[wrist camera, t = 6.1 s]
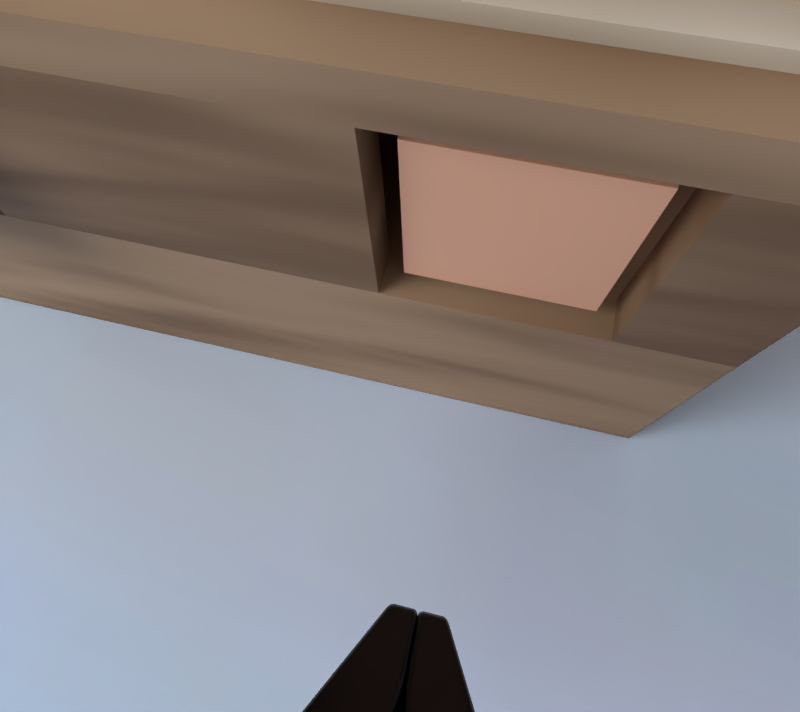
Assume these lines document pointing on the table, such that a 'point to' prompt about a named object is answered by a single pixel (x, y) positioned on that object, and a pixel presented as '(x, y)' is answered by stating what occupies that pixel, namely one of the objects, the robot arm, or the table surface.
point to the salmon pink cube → (521, 222)
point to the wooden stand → (380, 187)
